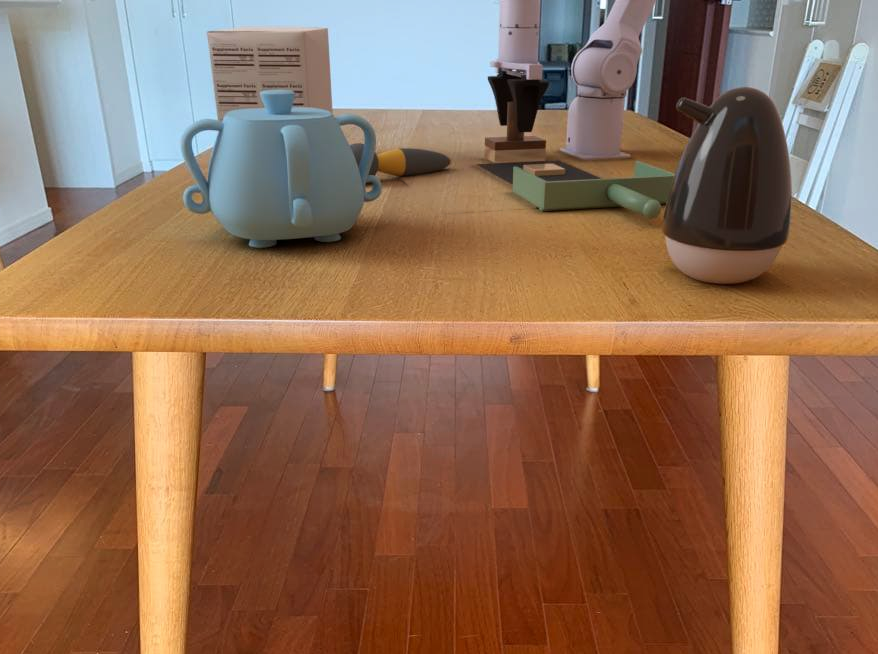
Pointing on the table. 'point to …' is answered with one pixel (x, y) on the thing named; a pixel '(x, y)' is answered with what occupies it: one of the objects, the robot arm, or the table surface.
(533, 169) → the flat wooden square tile
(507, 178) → the mat
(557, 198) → the dustpan
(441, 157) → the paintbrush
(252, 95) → the supplement box
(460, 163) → the table surface
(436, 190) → the table surface
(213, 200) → the decorative pot
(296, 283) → the table surface
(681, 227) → the pump dispenser
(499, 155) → the brush
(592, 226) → the table surface
